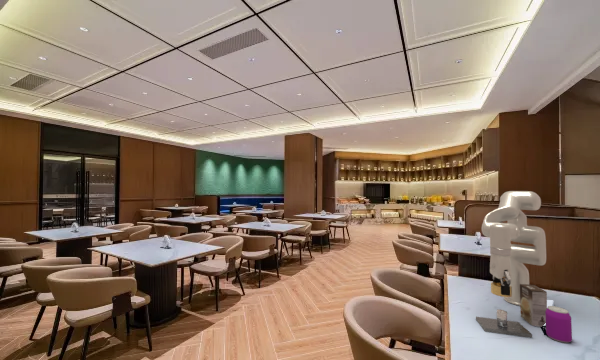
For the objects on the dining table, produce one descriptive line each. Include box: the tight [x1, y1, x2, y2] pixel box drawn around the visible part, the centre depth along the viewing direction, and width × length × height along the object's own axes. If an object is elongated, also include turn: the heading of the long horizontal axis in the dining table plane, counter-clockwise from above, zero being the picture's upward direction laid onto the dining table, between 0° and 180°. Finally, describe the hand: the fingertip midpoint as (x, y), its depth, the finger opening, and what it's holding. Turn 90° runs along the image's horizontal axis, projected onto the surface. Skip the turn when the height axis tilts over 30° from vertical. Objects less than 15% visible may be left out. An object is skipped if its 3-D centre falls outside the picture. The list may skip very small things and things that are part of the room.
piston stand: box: [475, 308, 533, 339], centre depth 116 cm, size 17×11×8 cm, turn 74°
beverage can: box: [545, 305, 573, 344], centre depth 109 cm, size 8×8×12 cm
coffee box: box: [519, 284, 548, 328], centre depth 123 cm, size 9×6×16 cm
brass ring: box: [490, 281, 512, 298], centre depth 117 cm, size 7×7×4 cm
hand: (501, 291), depth 117 cm, fingers closed on brass ring, 7 cm apart
